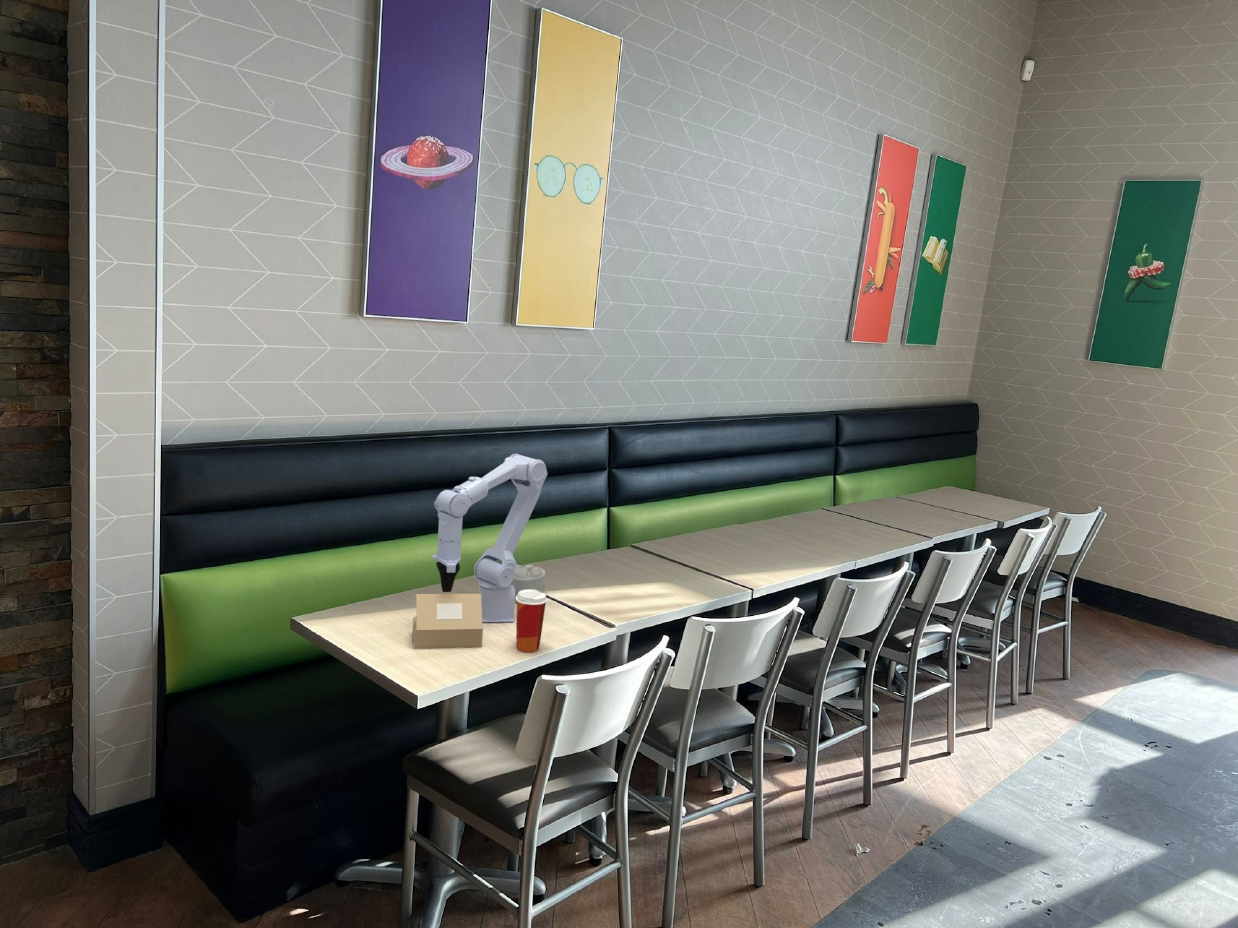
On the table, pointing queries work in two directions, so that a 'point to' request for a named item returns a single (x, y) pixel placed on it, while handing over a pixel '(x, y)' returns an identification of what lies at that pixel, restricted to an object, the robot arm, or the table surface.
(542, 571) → the clear tub of eggs
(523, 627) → the paper cup
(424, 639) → the kraft box
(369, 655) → the table surface
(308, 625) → the table surface
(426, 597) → the lid flap
